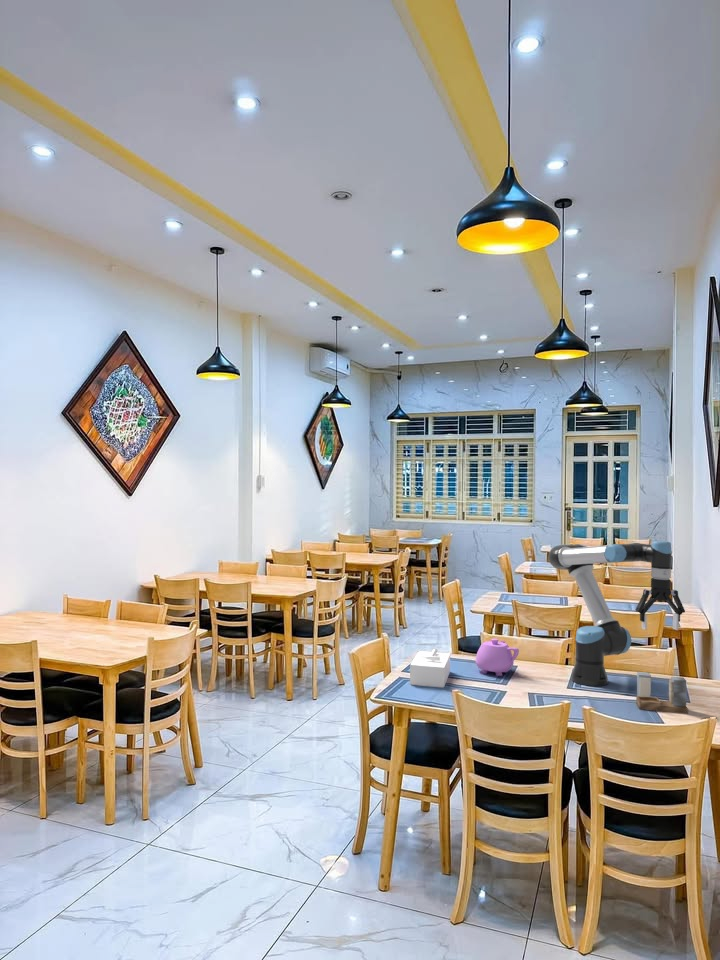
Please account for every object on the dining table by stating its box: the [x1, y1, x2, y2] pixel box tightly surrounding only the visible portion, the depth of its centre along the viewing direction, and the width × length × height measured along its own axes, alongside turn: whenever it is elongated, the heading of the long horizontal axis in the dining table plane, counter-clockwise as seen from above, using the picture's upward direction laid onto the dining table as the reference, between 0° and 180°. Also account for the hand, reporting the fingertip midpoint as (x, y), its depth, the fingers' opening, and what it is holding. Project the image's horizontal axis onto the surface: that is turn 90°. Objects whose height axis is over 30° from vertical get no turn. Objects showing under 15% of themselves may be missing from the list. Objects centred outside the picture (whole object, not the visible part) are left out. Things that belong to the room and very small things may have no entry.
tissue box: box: [409, 648, 451, 689], centre depth 286 cm, size 14×25×11 cm, turn 166°
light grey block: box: [636, 671, 652, 697], centre depth 262 cm, size 5×4×10 cm
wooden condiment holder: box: [635, 676, 689, 714], centre depth 251 cm, size 17×7×12 cm, turn 76°
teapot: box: [475, 638, 520, 677], centre depth 299 cm, size 20×20×15 cm
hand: (659, 629), depth 269 cm, fingers open, 13 cm apart
